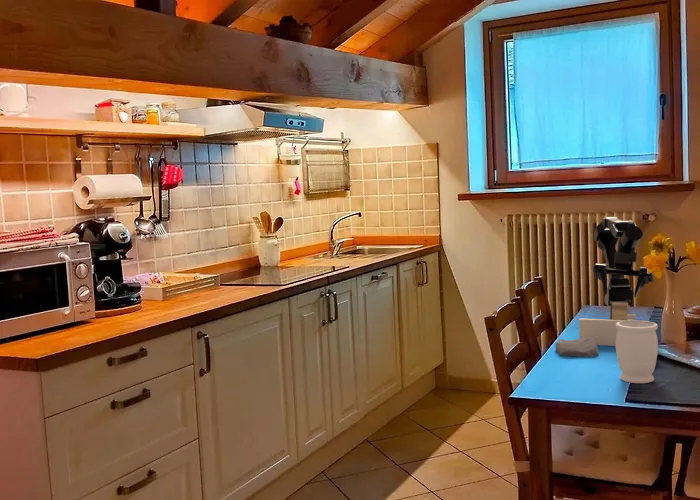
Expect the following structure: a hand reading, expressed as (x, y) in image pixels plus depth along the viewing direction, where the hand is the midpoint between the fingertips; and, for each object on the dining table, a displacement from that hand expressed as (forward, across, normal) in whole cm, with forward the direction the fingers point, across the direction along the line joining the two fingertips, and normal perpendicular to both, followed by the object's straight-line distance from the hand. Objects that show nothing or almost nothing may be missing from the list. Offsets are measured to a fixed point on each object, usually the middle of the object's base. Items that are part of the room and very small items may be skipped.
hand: (620, 295), depth 244 cm
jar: (+41, +12, -35) cm, 55 cm away
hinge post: (+19, +6, -4) cm, 21 cm away
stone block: (+28, -8, -14) cm, 32 cm away
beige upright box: (+19, -3, -4) cm, 20 cm away
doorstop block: (+15, +2, +1) cm, 16 cm away
